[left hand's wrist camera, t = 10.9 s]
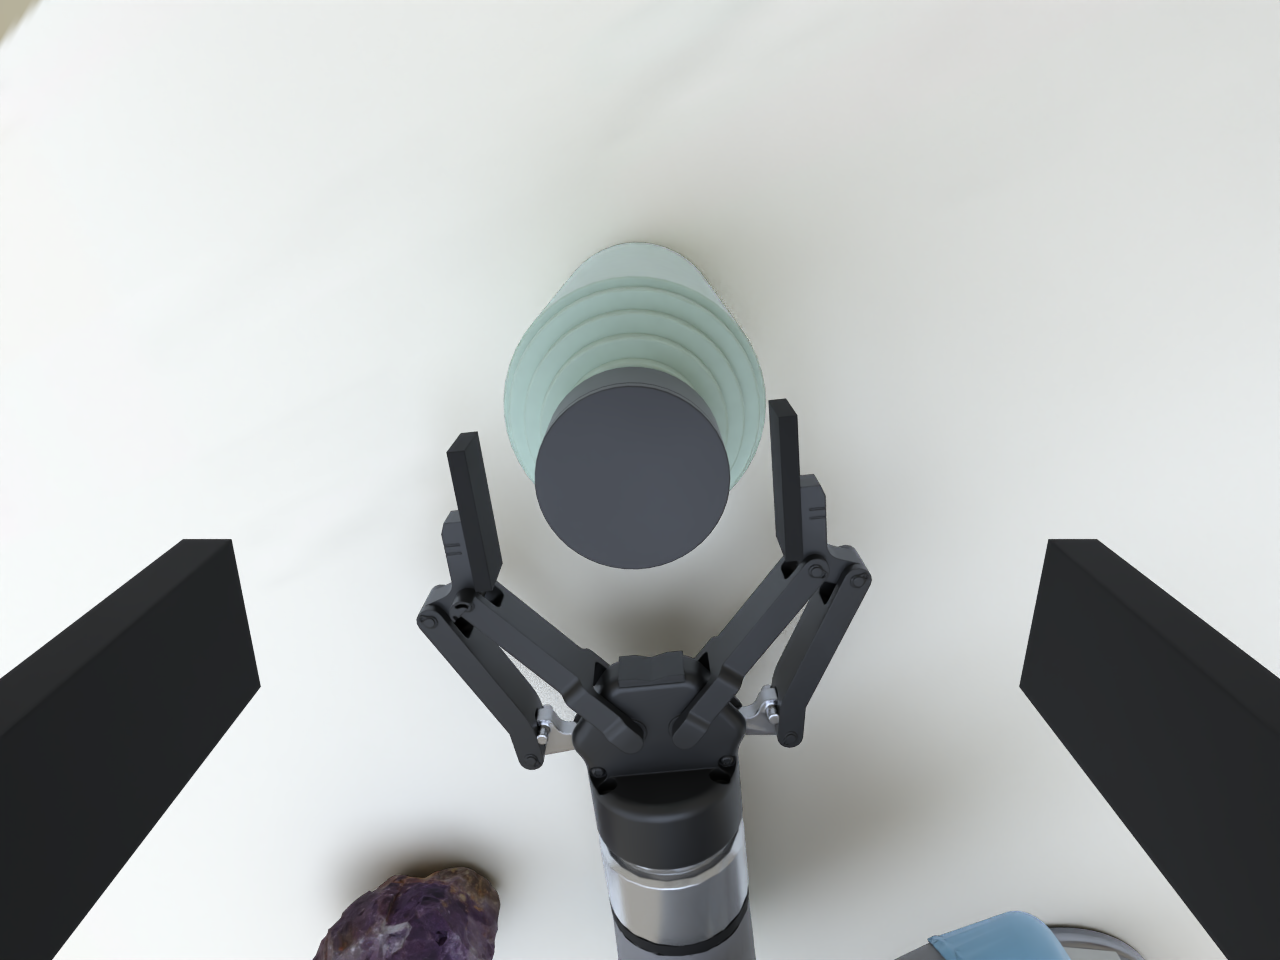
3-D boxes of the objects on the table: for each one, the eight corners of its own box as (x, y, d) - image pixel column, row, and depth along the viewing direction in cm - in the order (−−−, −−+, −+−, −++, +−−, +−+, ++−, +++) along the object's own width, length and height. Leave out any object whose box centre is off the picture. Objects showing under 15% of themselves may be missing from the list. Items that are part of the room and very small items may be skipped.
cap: (519, 396, 19) (505, 419, 17) (694, 342, 19) (700, 360, 17) (578, 553, 21) (571, 590, 19) (741, 507, 20) (752, 541, 18)
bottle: (532, 271, 37) (408, 365, 17) (693, 219, 36) (755, 255, 17) (586, 425, 40) (530, 658, 20) (737, 380, 39) (835, 576, 19)
